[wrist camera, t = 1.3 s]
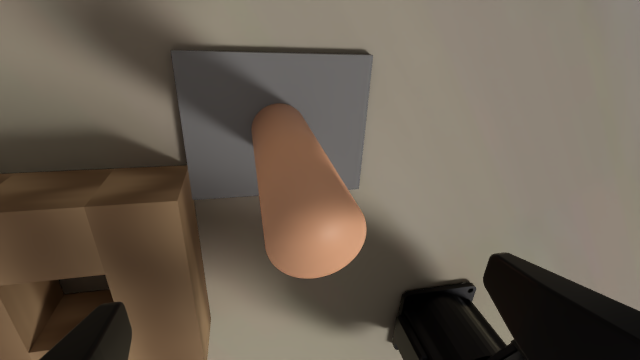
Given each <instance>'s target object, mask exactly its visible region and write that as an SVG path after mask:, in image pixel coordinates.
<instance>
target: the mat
mask: <svg viewBox="0 0 640 360" xmlns="http://www.w3.org/2000/svg"><path fill="white" fill-rule="evenodd" d="M171 56H172V63H173V70H174V77H175V83H176V90H177V97H178V104H179V111H180V118H181V125H182V132H183V138H184V145H185V152H186V159H187V166H188V173H189V180H190V187H191V193H192V200H200V199H216V198H231V197H246V196H259V190H258V182H257V174H256V165H255V157H254V148H253V140H252V132H251V129H252V123H253V120H254V118H255V116H256V115H257V114H258V112H259V111H260V110H262V109H263V108H264V107H266V106H268V105H271V104H277V103H281V104H287V105H290V106H292V107H294V108H295V109H297V110H298V111H299V112H300V113H301V115H302V116H303V118H304V120H305V121H306V123H307V124H308V126H309V128H310V129H311V131H312V132H313V134H314V136H315V137H316V139H317V140H318V142H319V144H320V145H321V147H322V149H323V150H324V152H325V153H326V155H327V157H328V158H329V160H330V161H331V163H332V165H333V166H334V168H335V170H336V171H337V173H338V174H339V176H340V178H341V179H342V181H343V182H344V184H345V186H346V187H347V189H348V190H351V189H359V182H360V173H361V164H362V154H363V145H364V136H365V126H366V117H367V107H368V98H369V89H370V79H371V70H372V61H373V55H370V54H327V53H284V52H240V51H197V50H171Z"/></svg>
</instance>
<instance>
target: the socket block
mask: <svg viewBox="0 0 640 360" xmlns="http://www.w3.org/2000/svg"><path fill="white" fill-rule="evenodd" d="M97 275H105V276H106V279H107V282H108V285H109V288H110V290H102V291H93V292H84V293H75V294H66V295H64V293H63V291H62V288H61V286H60V283H59V281H58V280H59V279H68V278H78V277H87V276H97ZM111 302H122V303H123V304H124V305H125V308H126V311H127V314H128V318H129V321H130V324H131V327H132V341H131V346H130V352H129V357H128V360H207V356H208V345H209V333H210V322H211V317H210V310H209V303H208V296H207V289H206V282H205V275H204V268H203V261H202V254H201V247H200V240H199V233H198V226H197V219H196V212H195V205H194V200H192V193H191V187H190V180H189V173H188V166H187V165H183V166H161V167H139V168H117V169H95V170H73V171H51V172H29V173H7V174H0V360H39V359H40V358H41V357H42V356H44V355H45V354H46V353H47V352H48V351H49V350H50V349H51V348H52V347H53V346H55V345H56V344H57V343H58V342H59V341H60V340H61V339H62V338H63V337H64V336H66V335H67V334H68V333H69V332H70V331H71V330H72V329H73V328H74V327H75V326H77V325H78V324H79V323H80V322H81V321H82V320H83V319H84V318H85V317H86V316H88V315H89V314H90V313H91V312H92V311H93V310H94V309H95V308H96V307H98V306H99V305H101V304H104V303H111Z"/></svg>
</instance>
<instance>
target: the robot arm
mask: <svg viewBox="0 0 640 360" xmlns="http://www.w3.org/2000/svg"><path fill="white" fill-rule="evenodd" d="M483 282H484V286H485V288H486V290H487V291H488V293H489V295H490V297H491V299H492V300H493V302H494V304H495V306H496V308H497V309H498V311H499V313H500V315H501V317H502V318H503V320H504V322H505V324H506V326H507V327H508V329H509V331H510V333H511V334H512V336H513V338H514V340H512V341H511V343H510V344H509V345H506V344H505V343H504V342H503V340H502V339H501V338H500V337H499V335H498V334H497V333H496V332H495V330H494V329H493V328H492V327H491V325H490V324H489V323H488V322H487V320H486V319H485V318H484V317H483V315H482V314H481V313H480V312H479V310H478V309H477V308H476V307H475V305H474V304H473V303H472V300H473V297H474V294H475V291H476V287H475V286H474V285H473V284H472V283H463V284H456V285H449V286H441V287H434V288H427V289H420V290H412V291H407V292H405V293H404V294H403V295H402V299H401V304H400V309H399V314H398V316H397V319H396V324H395V329H394V334H393V346H394V348H395V349H396V350H399V351H400V354H401V356H402V358H403V360H640V311H638V310H636V309H633V308H631V307H629V306H627V305H624V304H622V303H620V302H618V301H615V300H613V299H611V298H609V297H606V296H604V295H602V294H600V293H597V292H595V291H593V290H591V289H588V288H586V287H584V286H582V285H579V284H577V283H575V282H573V281H571V280H568V279H566V278H564V277H562V276H559V275H557V274H555V273H553V272H550V271H548V270H546V269H544V268H541V267H539V266H537V265H535V264H532V263H530V262H528V261H526V260H523V259H521V258H519V257H517V256H514V255H512V254H510V253H497V254H493V255H491V256H490V258H489V261H488V264H487V267H486V270H485V273H484V276H483ZM131 341H132V327H131V324H130V321H129V318H128V314H127V311H126V308H125V305H124V304H123V303H122V302H111V303H104V304H101V305H99V306H98V307H96V308H95V309H94V310H93V311H92V312H91V313H90V314H89V315H88V316H86V317H85V318H84V319H83V320H82V321H81V322H80V323H79V324H78V325H77V326H75V327H74V328H73V329H72V330H71V331H70V332H69V333H68V334H67V335H66V336H64V337H63V338H62V339H61V340H60V341H59V342H58V343H57V344H56V345H55V346H53V347H52V348H51V349H50V350H49V351H48V352H47V353H46V354H45V355H44V356H42V357H41V358H40V359H39V360H128V357H129V352H130V346H131Z"/></svg>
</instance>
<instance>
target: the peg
mask: <svg viewBox="0 0 640 360" xmlns="http://www.w3.org/2000/svg"><path fill="white" fill-rule="evenodd" d="M251 132H252V140H253V148H254V157H255V165H256V174H257V182H258V190H259V199H260V207H261V215H262V224H263V232H264V241H265V249H266V252H267V255H268V257H269V259H270V261H271V262H272V264H273V265H274V266H275V267H276V268H277V269H279V270H280V271H282V272H283V273H285V274H287V275H290V276H293V277H297V278H308V279H310V278H319V277H323V276H327V275H330V274H332V273H335V272H337V271H339V270H340V269H342V268H343V267H345V266H346V265H348V264H349V263H350V262H351V261H352V260H353V259H354V258H355V257H356V256H357V254H358V253H359V251H360V250H361V248H362V246H363V244H364V241H365V237H366V229H367V228H366V221H365V218H364V215H363V213H362V211H361V210H360V208H359V207H358V205H357V203H356V202H355V200H354V199H353V197H352V195H351V194H350V192H349V190H348V189H347V187H346V186H345V184H344V182H343V181H342V179H341V178H340V176H339V174H338V173H337V171H336V170H335V168H334V166H333V165H332V163H331V161H330V160H329V158H328V157H327V155H326V153H325V152H324V150H323V149H322V147H321V145H320V144H319V142H318V140H317V139H316V137H315V136H314V134H313V132H312V131H311V129H310V128H309V126H308V124H307V123H306V121H305V120H304V118H303V116H302V115H301V113H300V112H299V111H298V110H297V109H295V108H294V107H292V106H290V105H287V104H281V103H277V104H271V105H268V106H266V107H264V108H263V109H262V110H260V111H259V112H258V114H257V115H256V116H255V118H254V120H253V123H252V129H251Z"/></svg>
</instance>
